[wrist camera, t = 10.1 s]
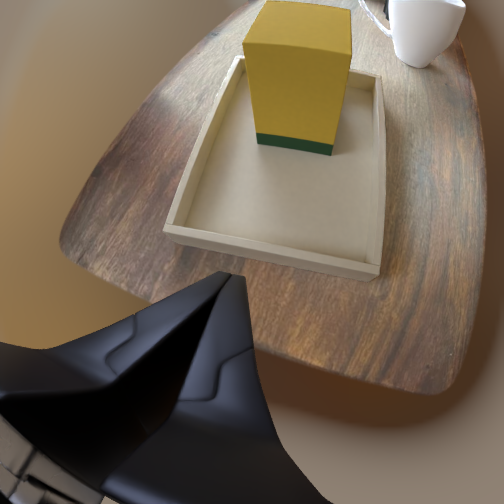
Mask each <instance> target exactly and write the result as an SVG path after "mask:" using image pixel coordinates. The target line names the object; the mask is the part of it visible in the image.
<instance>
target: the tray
mask: <svg viewBox="0 0 504 504" xmlns="http://www.w3.org/2000/svg"><path fill="white" fill-rule="evenodd" d="M385 202H386V131H385V112H384V99H383V88H382V79H381V76H380V75H376V74H372V73H368V72H364V71H360V70H355V69H350V70H349V75H348V80H347V85H346V90H345V95H344V100H343V105H342V110H341V115H340V119H339V124H338V128H337V133H336V137H335V142H334V146H333V150H332V155H331V156H328V155H322V154H317V153H312V152H306V151H300V150H294V149H288V148H282V147H275V146H268V145H260V144H257V138H256V131H255V124H254V117H253V111H252V104H251V97H250V90H249V84H248V77H247V71H246V64H245V58H244V56H242V55H236V57H235V59H234V61H233V63H232V65H231V67H230V69H229V71H228V73H227V75H226V77H225V79H224V81H223V83H222V85H221V87H220V89H219V91H218V93H217V96H216V98H215V100H214V102H213V104H212V106H211V109H210V111H209V113H208V115H207V117H206V120H205V122H204V124H203V127H202V129H201V131H200V134H199V136H198V138H197V141H196V143H195V146H194V148H193V150H192V153H191V155H190V158H189V160H188V163H187V165H186V168H185V170H184V173H183V176H182V178H181V181H180V184H179V186H178V189H177V192H176V194H175V197H174V200H173V203H172V206H171V208H170V211H169V214H168V217H167V220H166V224H165V226H164V229H163V232H164V233H165V234H166V235H167V236H168V237H169V238H170V239H171V240H172V241H173V242H175V243H177V244H182V245H187V246H192V247H196V248H201V249H206V250H211V251H216V252H220V253H225V254H230V255H235V256H240V257H245V258H249V259H254V260H259V261H264V262H269V263H274V264H279V265H284V266H289V267H294V268H299V269H303V270H308V271H313V272H318V273H323V274H328V275H333V276H338V277H343V278H348V279H353V280H358V281H364V282H369V281H371V280H372V279H374V278H375V277H377V276H378V275H379V274H380V265H381V257H382V247H383V235H384V221H385Z"/></svg>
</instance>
